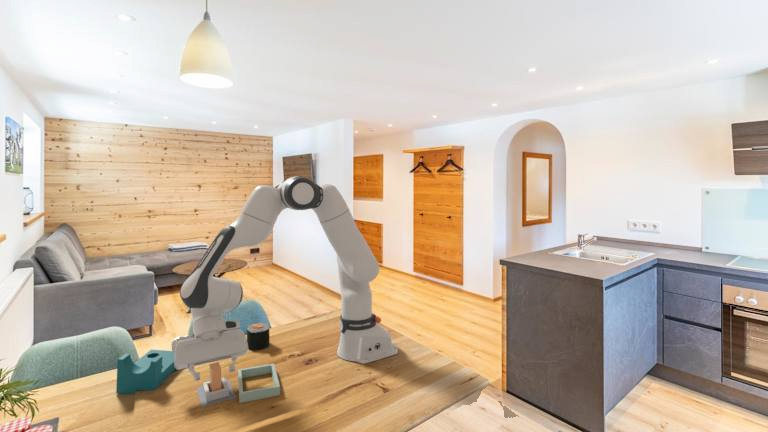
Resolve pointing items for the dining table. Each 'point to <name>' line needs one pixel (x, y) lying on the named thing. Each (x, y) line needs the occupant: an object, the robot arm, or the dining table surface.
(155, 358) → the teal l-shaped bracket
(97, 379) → the dining table surface
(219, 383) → the orange rectangular block
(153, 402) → the dining table surface
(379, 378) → the dining table surface
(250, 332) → the sushi
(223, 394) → the grey socket base plate
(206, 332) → the robot arm
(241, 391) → the tray
